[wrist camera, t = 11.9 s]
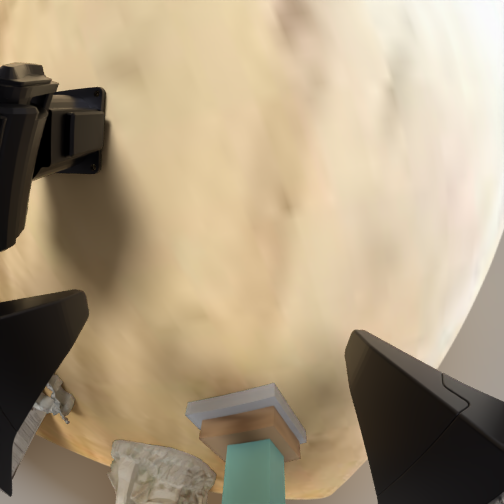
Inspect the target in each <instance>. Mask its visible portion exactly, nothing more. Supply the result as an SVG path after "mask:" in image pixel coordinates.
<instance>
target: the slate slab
mask: <svg viewBox="0 0 504 504" xmlns="http://www.w3.org/2000/svg"><path fill="white" fill-rule="evenodd" d="M273 405H274V407H275V408H276V410H277V411H278V412H279V414H280V415H281V417H282V418H283V419H284V421H285V422H286V424H287V425H288V426H289V428H290V429H291V431H292V432H293V433H294V435H295V436H296V437H297V439H298V440H299V443H300V444H302V443H306V442H307V441H306V431H305V429H304V428H303V426H302V425H301V423H300V422H299V420H298V418H297V417H296V415H295V414H294V412H293V411H292V409H291V408H290V406H289V405H288V403H287V402H286V400H285V399H284V397H283V395H282V394H281V392H280V391H279V389H278V388H277V386H276V384H275V383H272V384H268V385H264V386H260V387H256V388H252V389H248V390H244V391H240V392H236V393H232V394H227V395H223V396H218V397H213V398H208V399H203V400H198V401H193V402H188V405H187V409H186V413H185V415H186V416H187V417H188V418H189V419H190V420H191V421H192V422H193V423H194V424H195V425H196V426H197V427H198V428H199V429H200V430H201V425H202V420H205V419H211V418H217V417H223V416H228V415H233V414H238V413H243V412H248V411H252V410H257V409H261V408H265V407H269V406H273Z"/></svg>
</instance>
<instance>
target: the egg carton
mask: <svg viewBox="0 0 504 504" xmlns="http://www.w3.org/2000/svg"><path fill="white" fill-rule="evenodd" d="M61 384H62V380H61V379H60V378H59V377H58V376H57V375H55V374H53V376H52V377H51V379H50V381H49V382H48V384H47V385H46V386H47V388H48V389H50V390H51V391H53V393H52V395H51V398H50V397H49V396H46V395H45V394H44V393H43V392H42V393H41V394H40V396H39V398H38V399H37V401H36V402H35V404H34V406H33V407H34V408H36V409H38V410H40V411H44V412H46V413H47V414H48V413H53V415H56V414H58V413H60V415H61V416H62V419H63V420H64V421H65V422H66V423H67V424H69V423H70V422H69V421H68V418H66V417H65V416H67V415H68V414H69V412H70V411H71V409H72V407H73V406H74V401H75V398H74V397H73V395H72V394H70V393H68V392H66V391H65V390H64V389H63V388H62V387H61Z"/></svg>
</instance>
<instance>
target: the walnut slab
mask: <svg viewBox="0 0 504 504" xmlns="http://www.w3.org/2000/svg"><path fill="white" fill-rule="evenodd" d="M199 439H200V440H201V441H202V442H203V443H204V444H205V445H206V446H208V447H209V448H210V449H211V450H212V451H213V452H214V453H215V454H217V455H218V456H219V457H220V458H221V459H222V460H224V461H225V462H226V455H227V445H233V444H241V443H247V442H254V441H260V440H265V439H270V440H271V441H272V442H273V444H274V445H275V446H276V447H277V449H278V450H279V451H280V452H281V454H282V455H283V456H284V462H288V461H293V460H298V459H300V443H299V440H298V439H297V437H296V436H295V435H294V433H293V432H292V431H291V429H290V428H289V426H288V425H287V424H286V422H285V421H284V419H283V418H282V417H281V415H280V414H279V412H278V411H277V410H276V408H275V407H274V405H273V406H269V407H265V408H261V409H257V410H252V411H248V412H243V413H238V414H233V415H228V416H223V417H217V418H211V419H205V420H202V425H201V430H200V435H199Z"/></svg>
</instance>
